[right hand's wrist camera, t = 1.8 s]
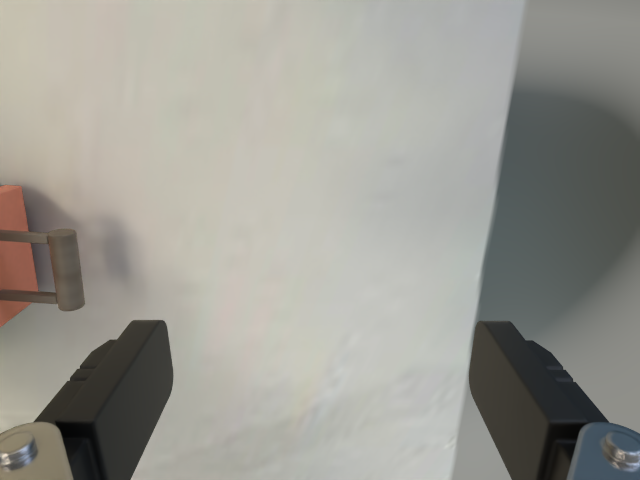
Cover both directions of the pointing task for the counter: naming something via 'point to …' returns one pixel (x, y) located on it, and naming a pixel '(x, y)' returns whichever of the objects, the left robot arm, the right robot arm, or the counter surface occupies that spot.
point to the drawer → (18, 266)
